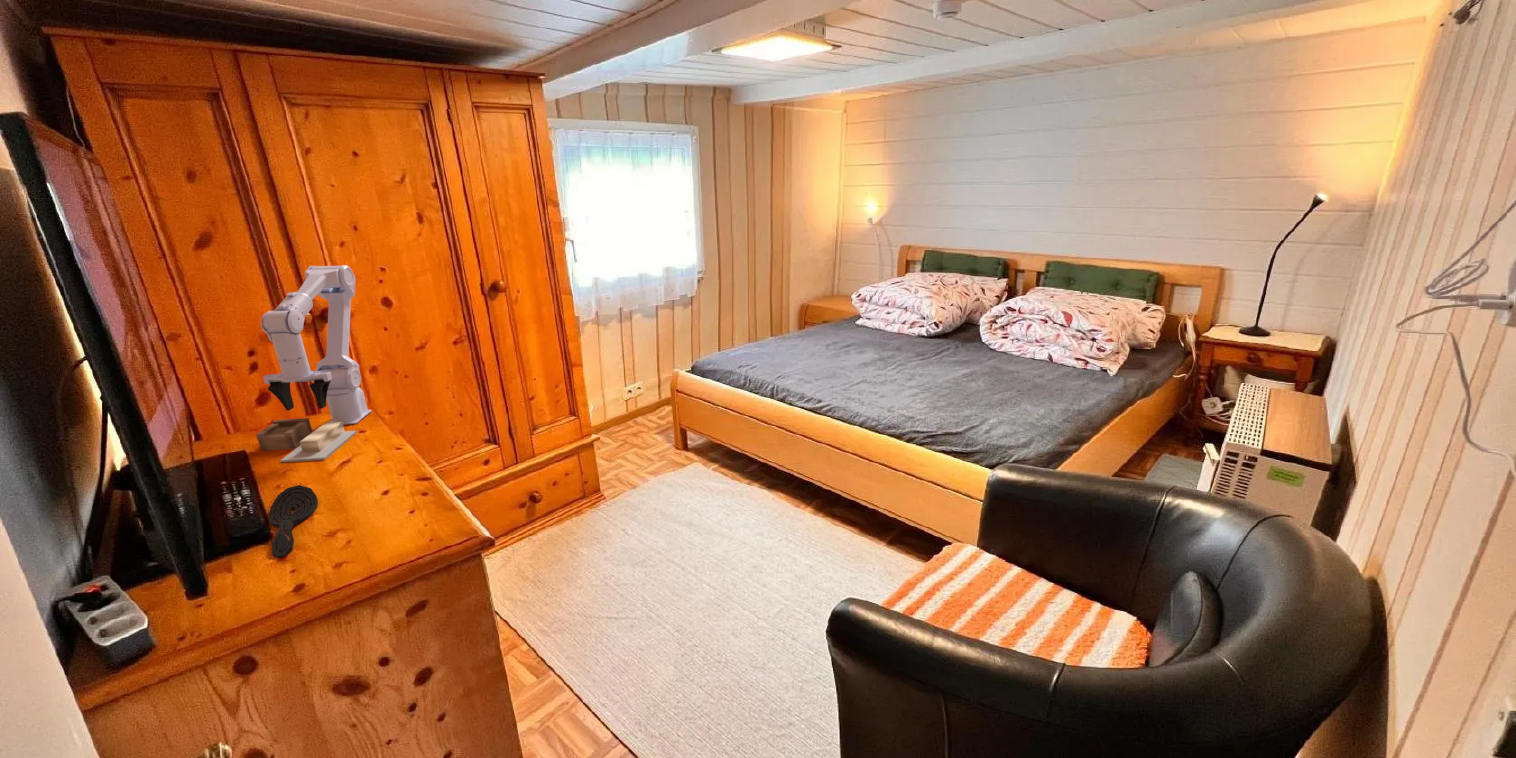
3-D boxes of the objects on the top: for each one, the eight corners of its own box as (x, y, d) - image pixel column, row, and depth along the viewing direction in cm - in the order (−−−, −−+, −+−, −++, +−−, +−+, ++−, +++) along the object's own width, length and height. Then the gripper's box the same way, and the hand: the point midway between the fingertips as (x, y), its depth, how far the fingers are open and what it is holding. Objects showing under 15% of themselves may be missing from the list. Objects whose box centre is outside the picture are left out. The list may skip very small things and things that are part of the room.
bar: (328, 432, 159) (326, 422, 158) (344, 431, 159) (342, 421, 158) (302, 452, 147) (299, 441, 146) (319, 451, 148) (316, 440, 147)
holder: (281, 436, 158) (276, 419, 156) (313, 435, 159) (308, 418, 157) (261, 450, 150) (255, 433, 148) (295, 448, 151) (290, 431, 149)
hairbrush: (249, 554, 106) (269, 487, 125) (255, 570, 107) (274, 501, 127) (305, 540, 110) (316, 477, 129) (310, 556, 111) (320, 491, 131)
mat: (317, 434, 159) (316, 432, 158) (357, 432, 160) (356, 430, 160) (280, 462, 144) (280, 460, 144) (325, 459, 145) (324, 457, 145)
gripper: (249, 364, 141) (265, 415, 146) (315, 361, 143) (329, 412, 148) (267, 355, 148) (282, 405, 152) (330, 352, 150) (343, 402, 154)
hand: (306, 408), depth 150 cm, fingers open, 7 cm apart
